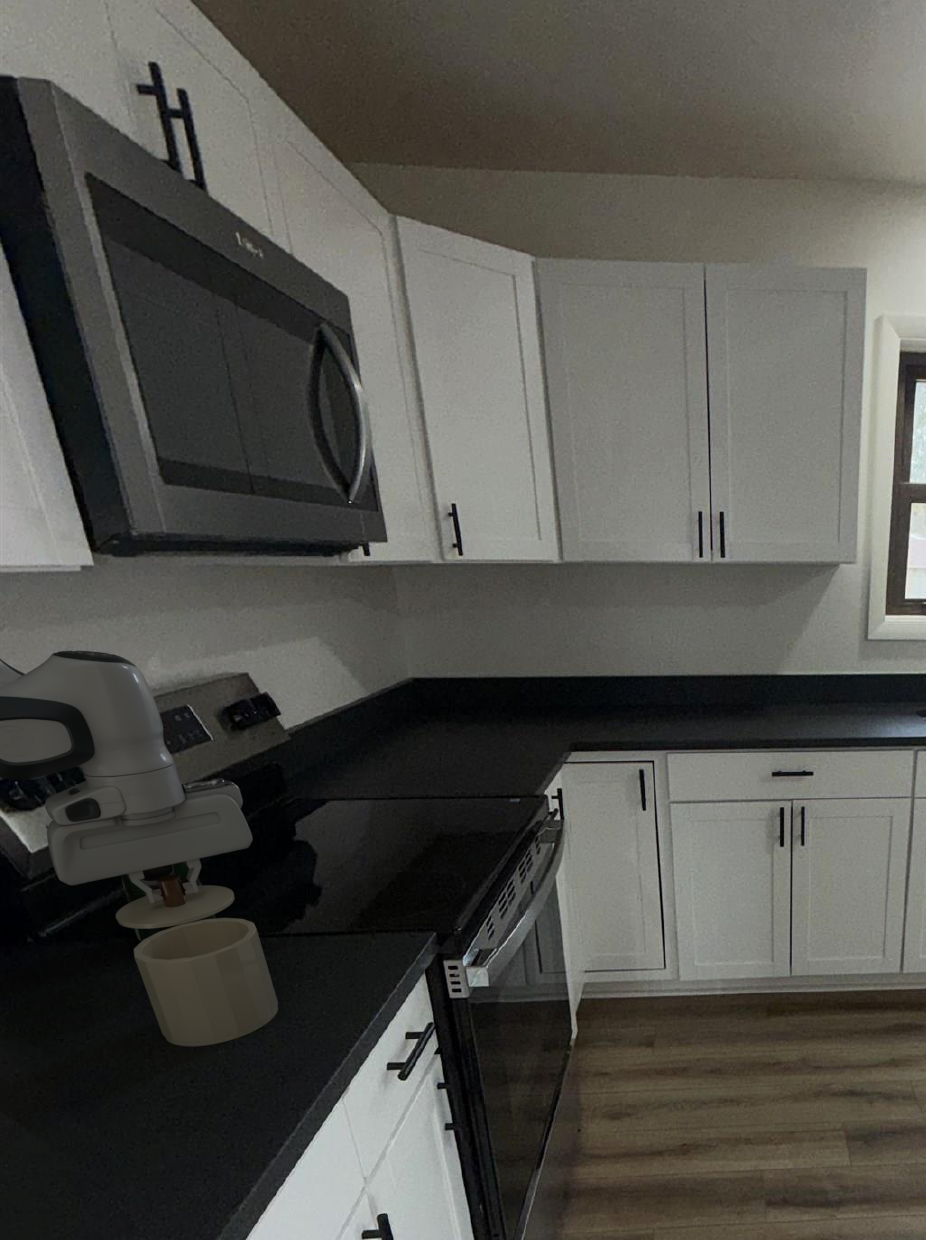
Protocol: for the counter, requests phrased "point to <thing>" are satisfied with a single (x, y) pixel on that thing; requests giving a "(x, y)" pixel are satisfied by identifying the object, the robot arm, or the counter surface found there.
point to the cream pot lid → (175, 905)
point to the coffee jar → (150, 879)
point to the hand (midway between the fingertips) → (173, 897)
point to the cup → (207, 981)
